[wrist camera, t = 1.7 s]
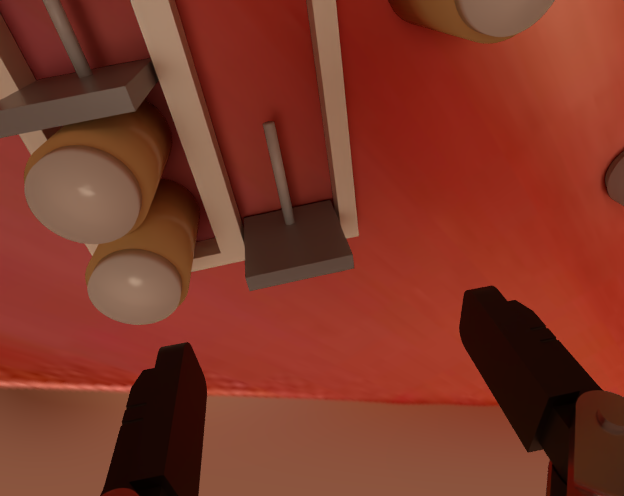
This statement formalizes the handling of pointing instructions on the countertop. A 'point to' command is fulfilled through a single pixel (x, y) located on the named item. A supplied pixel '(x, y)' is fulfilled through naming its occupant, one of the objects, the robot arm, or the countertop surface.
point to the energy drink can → (616, 179)
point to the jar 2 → (148, 261)
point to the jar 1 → (99, 175)
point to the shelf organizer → (172, 109)
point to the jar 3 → (473, 16)
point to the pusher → (292, 235)
